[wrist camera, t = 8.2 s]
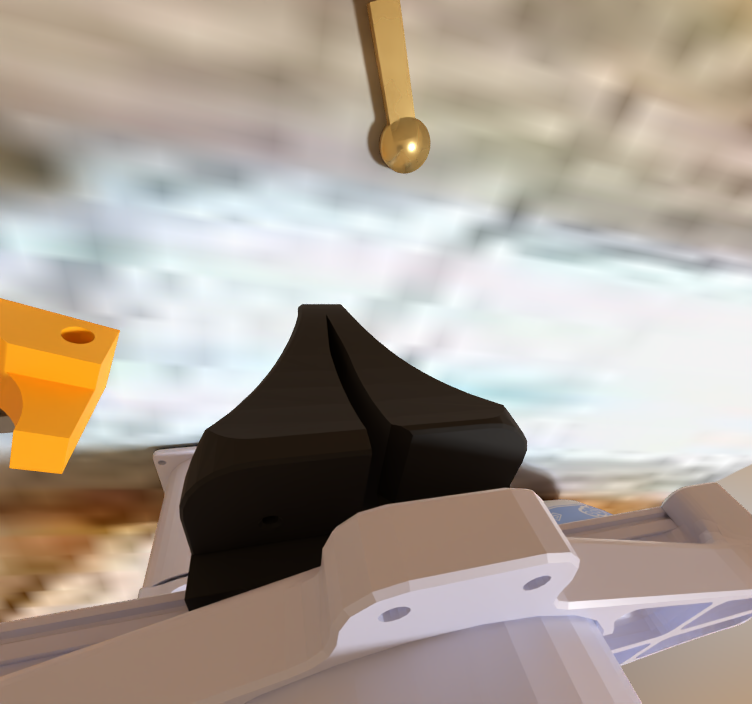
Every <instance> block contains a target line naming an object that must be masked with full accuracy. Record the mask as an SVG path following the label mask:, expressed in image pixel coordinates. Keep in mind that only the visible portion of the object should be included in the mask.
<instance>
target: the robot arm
mask: <svg viewBox="0 0 752 704" xmlns="http://www.w3.org/2000/svg"><path fill="white" fill-rule="evenodd" d="M526 451H527V440H526V438H525V436H524V434H523V432H522V431H521V429H520V428H519V426H518V425H517V423H516V422H515V421H514V419H513V418H512V416H511V415H510V413H509V412H508V411H507V409H506V408H505V407H504V405H501V404H498V403H495V402H492V401H489V400H486V399H483V398H480V397H477V396H474V395H471V394H468V393H466V392H464V391H461V390H459V389H456V388H454V387H452V386H449V385H447V384H445V383H443V382H441V381H439V380H437V379H435V378H433V377H431V376H429V375H427V374H425V373H423V372H422V371H420V370H418V369H416V368H415V367H413V366H411V365H410V364H408V363H407V362H405V361H404V360H402V359H401V358H399V357H398V356H396V355H395V354H394V353H392V352H391V351H390V350H388V349H387V348H386V347H385V346H384V345H382V344H381V343H380V342H379V341H377V340H376V339H375V338H374V337H373V336H372V335H371V334H370V333H368V332H367V331H366V330H365V329H364V328H363V327H362V326H361V325H360V324H359V323H358V322H357V321H356V320H355V319H354V318H353V317H352V316H351V315H350V314H349V312H348V311H347V310H346V309H345V308H344V307H343V306H342V305H341V304H302V305H301V306H299V307H298V317H297V321H296V324H295V327H294V330H293V332H292V335H291V337H290V339H289V341H288V343H287V345H286V347H285V349H284V351H283V352H282V354H281V356H280V358H279V359H278V361H277V362H276V364H275V365H274V367H273V368H272V369H271V371H270V372H269V373H268V375H267V376H266V377H265V378H264V379H263V381H262V382H261V383H260V384H259V385H258V386H257V387H256V389H255V390H254V391H253V392H252V393H251V394H250V395H249V396H247V397H246V398H245V399H244V400H243V401H242V402H241V403H240V404H239V405H238V406H237V407H236V408H235V409H233V410H232V411H231V412H230V413H229V414H227V415H226V416H224V417H223V418H222V419H220V420H219V421H218V422H216V423H215V424H213V425H212V426H210V427H209V428H207V429H206V430H205V431H204V433H203V435H202V437H201V439H200V441H199V443H198V445H197V446H194V447H183V448H172V449H160V450H157V451H155V452H154V454H153V461H154V464H155V467H156V470H157V473H158V476H159V479H160V482H161V485H162V487H163V490H164V493H165V495H164V500H163V504H162V508H161V512H160V516H159V521H158V525H157V529H156V533H155V537H154V542H153V546H152V550H151V554H150V558H149V563H148V567H147V571H146V575H145V579H144V584H143V588H141V589H140V590H139V594H138V598H137V599H133V600H128V601H122V602H116V603H111V604H105V605H99V606H94V607H88V608H82V609H77V610H71V611H65V612H60V613H54V614H48V615H43V616H37V617H31V618H26V619H20V620H14V621H9V622H3V623H0V704H642V702H641V700H640V699H639V697H638V695H637V694H636V692H635V690H634V689H633V687H632V685H631V684H630V682H629V680H628V678H627V677H626V675H625V673H624V671H623V670H622V668H621V666H622V665H625V664H627V663H630V662H633V661H636V660H638V659H641V658H644V657H646V656H649V655H652V654H655V653H658V652H660V651H663V650H666V649H669V648H671V647H674V646H677V645H679V644H682V643H685V642H688V641H691V640H694V639H697V638H700V637H703V636H706V635H709V634H712V633H715V632H719V631H721V630H725V629H728V628H731V627H734V626H738V625H741V624H743V623H744V622H746V621H748V620H750V619H751V618H752V515H751V514H750V513H749V512H748V511H747V510H746V509H745V508H744V507H742V505H740V504H739V503H738V502H737V501H736V500H735V499H734V498H733V497H732V496H731V495H730V494H729V493H727V492H726V491H725V490H724V489H723V488H722V487H721V486H720V485H719V484H718V483H715V482H710V483H703V484H697V485H691V486H686V487H682V488H680V489H678V490H676V491H674V492H673V493H671V494H670V495H669V496H668V497H667V498H666V499H665V500H664V502H663V503H662V505H661V506H660V507H655V508H649V509H643V510H638V511H632V512H626V513H621V514H615V515H609V516H604V517H598V518H592V519H587V520H581V521H575V522H570V523H564V524H557V522H556V521H555V519H554V518H553V516H552V514H551V513H550V511H549V510H548V508H547V506H546V505H545V503H544V502H543V500H542V499H541V498H540V497H539V496H538V495H537V494H536V493H535V492H534V491H533V490H529V489H523V488H510V484H511V482H512V480H513V478H514V476H515V475H516V473H517V471H518V469H519V467H520V465H521V464H522V462H523V459H524V456H525V454H526ZM162 460H163V461H162Z"/></svg>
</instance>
